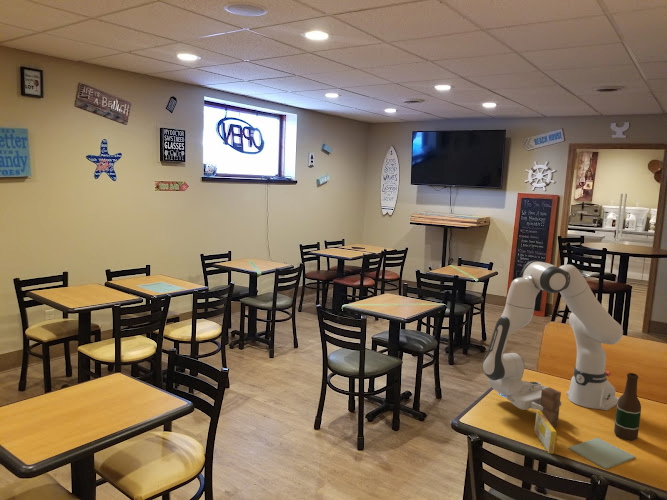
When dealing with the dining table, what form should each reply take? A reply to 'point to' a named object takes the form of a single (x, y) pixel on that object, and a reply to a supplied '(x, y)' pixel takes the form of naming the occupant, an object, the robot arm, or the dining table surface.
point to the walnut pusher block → (551, 405)
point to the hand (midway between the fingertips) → (551, 406)
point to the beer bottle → (628, 411)
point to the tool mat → (601, 453)
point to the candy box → (545, 432)
